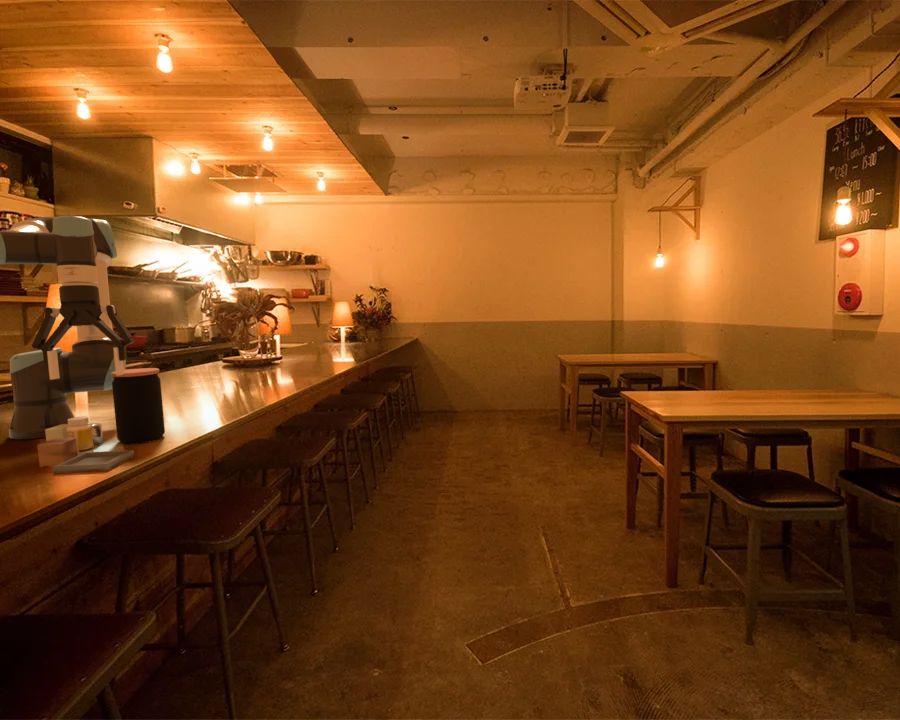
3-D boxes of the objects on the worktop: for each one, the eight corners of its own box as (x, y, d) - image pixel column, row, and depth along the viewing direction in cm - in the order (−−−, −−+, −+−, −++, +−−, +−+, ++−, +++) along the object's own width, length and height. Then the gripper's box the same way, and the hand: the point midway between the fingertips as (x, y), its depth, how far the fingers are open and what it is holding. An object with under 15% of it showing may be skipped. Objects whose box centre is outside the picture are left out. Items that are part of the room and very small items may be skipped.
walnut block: (55, 460, 119) (52, 439, 118) (78, 459, 119) (76, 437, 119) (39, 467, 114) (37, 444, 113) (64, 466, 114) (61, 443, 114)
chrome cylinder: (89, 442, 134) (87, 423, 134) (107, 441, 135) (105, 422, 134) (78, 447, 130) (76, 427, 130) (97, 446, 130) (94, 426, 130)
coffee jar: (174, 434, 141) (168, 367, 139) (147, 444, 130) (140, 373, 129) (136, 434, 142) (130, 368, 140) (107, 444, 131) (100, 373, 130)
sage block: (63, 443, 135) (61, 424, 134) (79, 442, 135) (77, 423, 134) (47, 449, 129) (45, 429, 128) (64, 449, 129) (62, 429, 129)
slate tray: (85, 458, 119) (84, 452, 119) (134, 456, 120) (133, 450, 120) (54, 473, 109) (53, 466, 109) (107, 470, 110) (107, 463, 109)
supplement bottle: (97, 449, 127) (93, 415, 127) (89, 454, 123) (85, 419, 122) (74, 451, 126) (70, 416, 125) (65, 456, 122) (61, 421, 121)
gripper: (6, 286, 115) (17, 382, 116) (132, 282, 120) (140, 374, 122) (26, 288, 122) (35, 379, 124) (143, 285, 127) (151, 371, 129)
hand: (87, 377), depth 123 cm, fingers open, 13 cm apart
